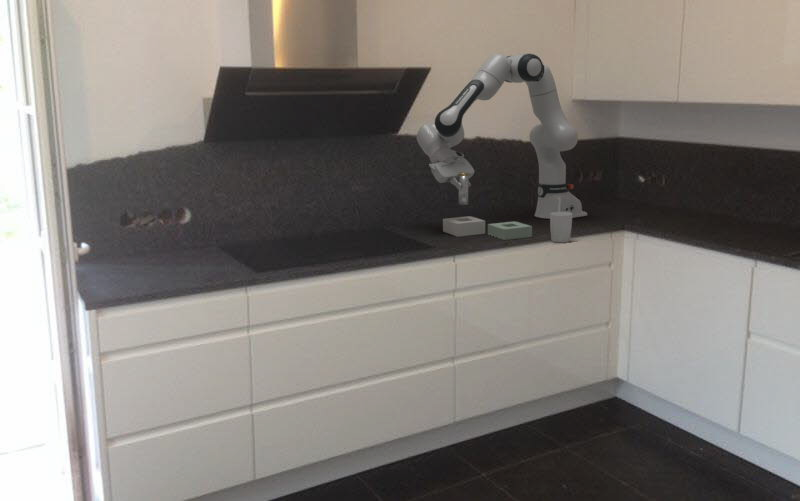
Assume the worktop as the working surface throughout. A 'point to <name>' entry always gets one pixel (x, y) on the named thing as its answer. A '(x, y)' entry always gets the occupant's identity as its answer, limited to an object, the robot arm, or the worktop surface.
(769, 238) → the worktop surface
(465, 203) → the silver gold-banded cylinder
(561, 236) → the white cup
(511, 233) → the socket block
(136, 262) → the worktop surface
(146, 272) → the worktop surface
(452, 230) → the grey block with hole
